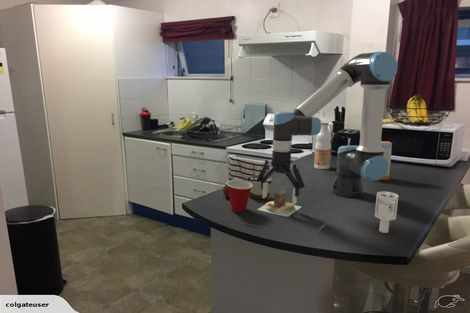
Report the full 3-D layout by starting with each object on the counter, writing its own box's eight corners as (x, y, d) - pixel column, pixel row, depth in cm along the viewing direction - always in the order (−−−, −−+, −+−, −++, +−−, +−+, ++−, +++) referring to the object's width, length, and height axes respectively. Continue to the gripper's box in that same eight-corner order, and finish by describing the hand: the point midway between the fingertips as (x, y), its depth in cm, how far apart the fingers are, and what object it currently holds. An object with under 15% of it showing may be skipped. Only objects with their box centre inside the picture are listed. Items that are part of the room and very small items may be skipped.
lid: (298, 206, 153) (299, 191, 152) (286, 215, 144) (287, 199, 142) (273, 201, 160) (273, 187, 158) (260, 209, 150) (260, 194, 148)
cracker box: (385, 177, 204) (389, 140, 200) (388, 180, 199) (392, 142, 194) (360, 176, 206) (363, 140, 201) (362, 179, 200) (365, 142, 196)
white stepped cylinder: (373, 233, 129) (377, 192, 126) (373, 226, 135) (377, 187, 132) (394, 236, 127) (399, 195, 123) (393, 229, 133) (398, 189, 130)
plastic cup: (250, 216, 143) (250, 187, 141) (223, 214, 145) (223, 185, 143) (254, 207, 154) (254, 180, 151) (229, 205, 156) (229, 178, 153)
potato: (229, 193, 172) (229, 181, 171) (245, 198, 166) (245, 185, 165) (218, 197, 167) (218, 184, 166) (235, 202, 161) (235, 188, 159)
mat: (301, 208, 154) (301, 206, 154) (287, 218, 142) (288, 216, 142) (272, 201, 161) (272, 200, 161) (256, 211, 150) (256, 209, 150)
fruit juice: (311, 167, 226) (313, 122, 220) (319, 165, 233) (322, 121, 227) (324, 170, 220) (327, 124, 214) (332, 167, 226) (335, 123, 220)
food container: (275, 197, 167) (275, 176, 165) (272, 201, 162) (272, 179, 160) (249, 194, 171) (250, 174, 169) (245, 198, 166) (246, 177, 164)
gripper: (314, 152, 143) (310, 204, 147) (259, 145, 156) (257, 192, 160) (307, 155, 137) (303, 209, 141) (250, 147, 150) (248, 197, 154)
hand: (279, 200), depth 151 cm, fingers open, 13 cm apart
